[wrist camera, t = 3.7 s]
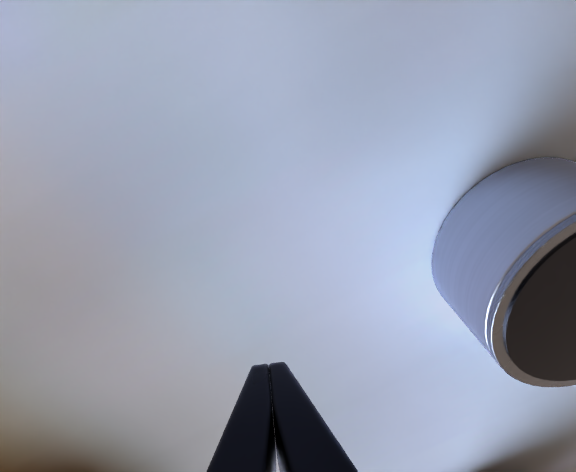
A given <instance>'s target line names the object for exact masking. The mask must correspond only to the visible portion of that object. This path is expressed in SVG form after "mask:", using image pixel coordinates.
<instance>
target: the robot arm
mask: <svg viewBox="0 0 576 472" xmlns="http://www.w3.org/2000/svg"><path fill="white" fill-rule="evenodd" d="M269 374H270V376H269ZM270 385H271V387H270ZM271 397H272V399H271ZM272 408H273V410H272ZM273 420H274V422H273ZM274 431H275V433H274ZM275 442H276V445H275ZM276 452H277V459H278V465H279V470H280V472H358V471H357V469H356V468H355V466H354V465H353V463H352V462H351V460H350V459H349V457H348V456H347V454H346V453H345V451H344V450H343V448H342V447H341V445H340V444H339V442H338V441H337V439H336V438H335V436H334V435H333V433H332V432H331V430H330V429H329V427H328V426H327V424H326V423H325V421H324V420H323V418H322V417H321V415H320V414H319V412H318V411H317V409H316V408H315V406H314V405H313V404H312V402H311V401H310V399H309V398H308V396H307V395H306V393H305V392H304V390H303V389H302V387H301V386H300V384H299V383H298V381H297V380H296V378H295V377H294V375H293V374H292V372H291V371H290V369H289V368H288V366H287V365H286V364H285V363H284V362H278V363H271V364H270V365H269V366H268V365H267V364H261V365H254V366H252V368H251V370H250V372H249V374H248V377H247V379H246V381H245V384H244V386H243V388H242V391H241V393H240V395H239V398H238V400H237V402H236V405H235V407H234V409H233V412H232V414H231V416H230V418H229V421H228V423H227V425H226V428H225V430H224V432H223V435H222V437H221V439H220V442H219V444H218V446H217V449H216V451H215V453H214V456H213V458H212V460H211V462H210V465H209V467H208V469H207V472H276Z"/></svg>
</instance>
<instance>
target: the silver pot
mask: <svg viewBox="0 0 576 472" xmlns="http://www.w3.org/2000/svg"><path fill="white" fill-rule="evenodd" d="M432 274H433V279H434V282H435V285H436V287H437V290H438V291H439V293H440V294H441V296H442V297H443V298H444V300H445V301H446V302H447V303H448V304H449V306H450V307H451V308H452V309H453V310H454V312H455V313H456V314H457V315H458V316H459V318H460V319H461V320H462V321H463V322H464V324H465V325H466V326H467V327H468V328H469V330H470V331H471V332H472V333H473V334H474V336H475V337H476V338H477V339H478V340H479V342H480V343H481V344H482V345H483V346H484V348H485V349H486V350H487V351H488V352H489V354H490V355H491V356H492V357H493V358H494V359H495V361H496V362H497V363H498V364H499V366H500V367H501V368H502V369H503V370H504V371H505V372H506V373H507V374H509V375H510V376H512V377H513V378H515V379H517V380H519V381H521V382H523V383H526V384H530V385H534V386H541V387H564V386H572V385H576V162H573V161H570V160H567V159H561V158H536V159H529V160H525V161H522V162H518V163H515V164H512V165H510V166H507V167H505V168H503V169H501V170H499V171H497V172H495V173H493V174H491V175H490V176H488V177H487V178H485V179H484V180H482V181H481V182H479V183H478V184H477V185H476V186H474V187H473V188H472V189H471V190H469V191H468V192H467V193H466V194H465V195H464V196H463V197H462V198H461V199H460V200H459V202H458V203H457V204H456V205H455V207H454V208H453V209H452V210H451V212H450V213H449V215H448V216H447V218H446V219H445V221H444V223H443V225H442V227H441V229H440V230H439V233H438V235H437V238H436V241H435V244H434V248H433V253H432Z"/></svg>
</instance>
